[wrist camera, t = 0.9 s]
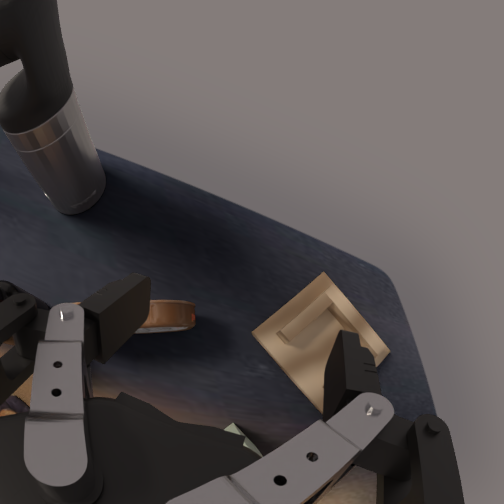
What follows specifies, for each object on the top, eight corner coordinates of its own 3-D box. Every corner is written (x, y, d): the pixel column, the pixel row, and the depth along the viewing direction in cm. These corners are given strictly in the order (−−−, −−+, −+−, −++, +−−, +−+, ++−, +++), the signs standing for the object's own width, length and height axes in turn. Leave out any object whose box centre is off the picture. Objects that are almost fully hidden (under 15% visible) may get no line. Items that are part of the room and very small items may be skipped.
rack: (251, 332, 36) (255, 328, 33) (321, 274, 40) (330, 264, 37) (324, 417, 33) (335, 420, 30) (386, 351, 37) (400, 348, 34)
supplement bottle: (8, 335, 31) (-47, 316, 20) (26, 290, 33) (-25, 258, 22) (44, 359, 31) (-11, 348, 20) (62, 311, 33) (13, 284, 22)
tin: (196, 309, 36) (193, 291, 29) (198, 335, 35) (195, 324, 28) (78, 313, 34) (49, 296, 26) (78, 338, 33) (47, 327, 25)
